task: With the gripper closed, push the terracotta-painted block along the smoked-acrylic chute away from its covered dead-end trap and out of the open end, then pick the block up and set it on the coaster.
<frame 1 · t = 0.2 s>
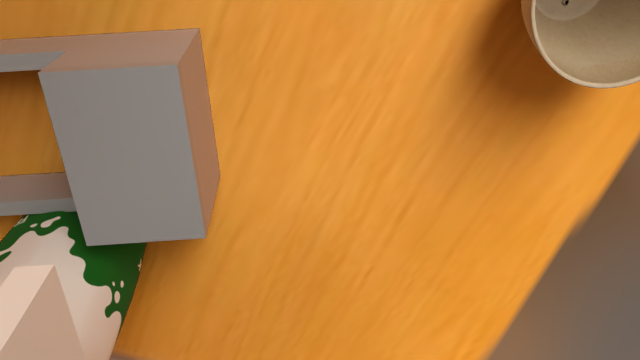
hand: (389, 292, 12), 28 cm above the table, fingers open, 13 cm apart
milk carton: (92, 230, 43), on the table, touching chute
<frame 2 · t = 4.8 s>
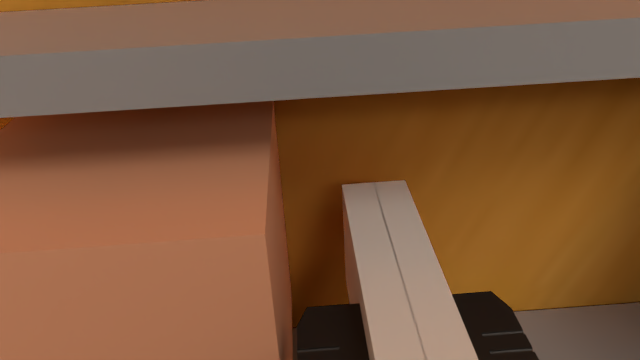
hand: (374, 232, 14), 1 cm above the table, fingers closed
chute: (372, 198, 15), on the table
block: (168, 214, 15), on the table, touching gripper
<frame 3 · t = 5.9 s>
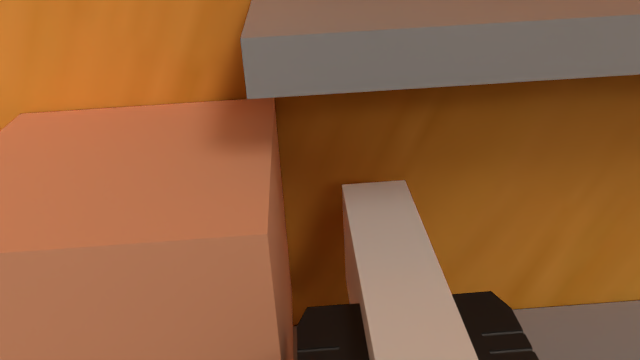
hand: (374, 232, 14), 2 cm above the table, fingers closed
chute: (610, 179, 15), on the table
block: (169, 213, 15), on the table, touching gripper
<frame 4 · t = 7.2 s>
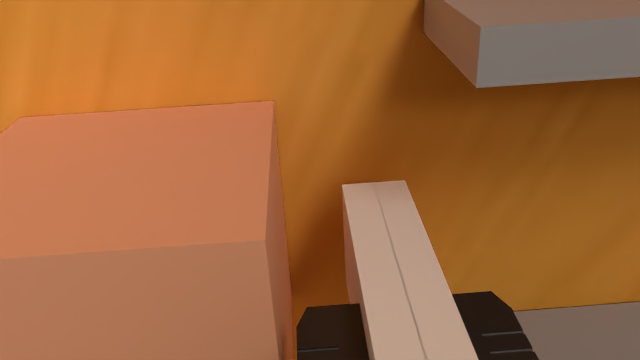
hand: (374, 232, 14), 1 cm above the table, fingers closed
block: (169, 217, 15), on the table, touching gripper
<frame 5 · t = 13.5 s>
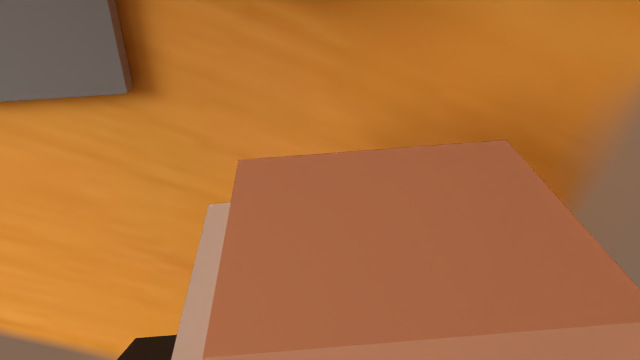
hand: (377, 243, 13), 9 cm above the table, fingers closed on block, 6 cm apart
block: (375, 260, 14), point 8 cm above the table, touching gripper
when the fingers open (1 cm above the table, at t = 16.9 s): block stays where it is, resting on coaster.
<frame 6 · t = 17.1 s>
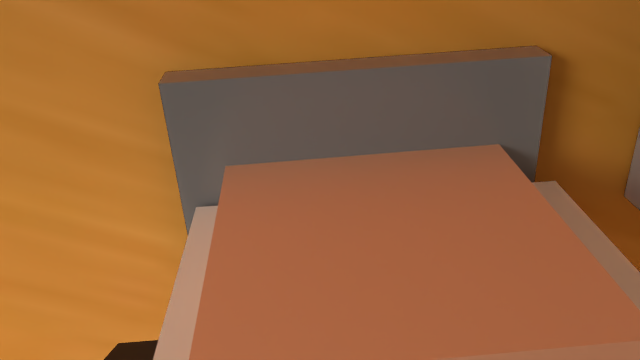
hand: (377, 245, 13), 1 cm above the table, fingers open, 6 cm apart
coaster: (357, 217, 14), on the table
block: (365, 266, 14), point 1 cm above the table, touching coaster, gripper
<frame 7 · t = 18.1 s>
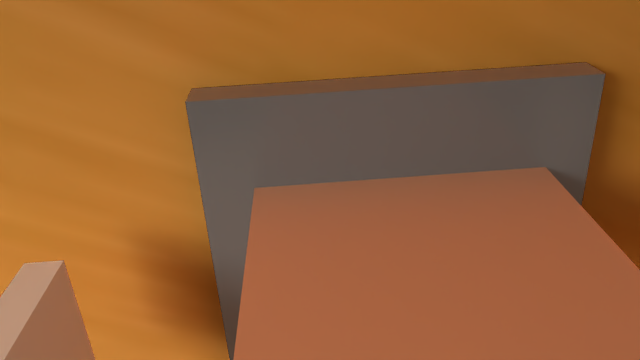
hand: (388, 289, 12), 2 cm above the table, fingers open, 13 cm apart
coaster: (389, 240, 13), on the table
block: (399, 293, 13), point 1 cm above the table, touching coaster
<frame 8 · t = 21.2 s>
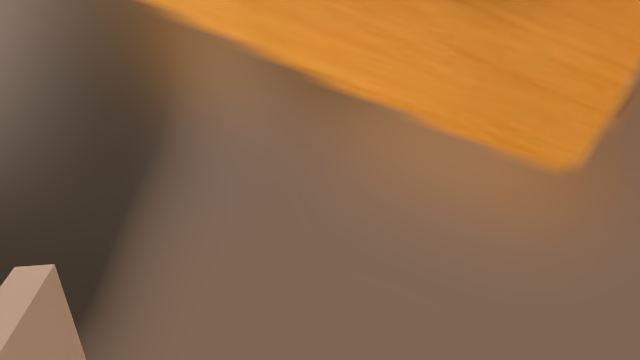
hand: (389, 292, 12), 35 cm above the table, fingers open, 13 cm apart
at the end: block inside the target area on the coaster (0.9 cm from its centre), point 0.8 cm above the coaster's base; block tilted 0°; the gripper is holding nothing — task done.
